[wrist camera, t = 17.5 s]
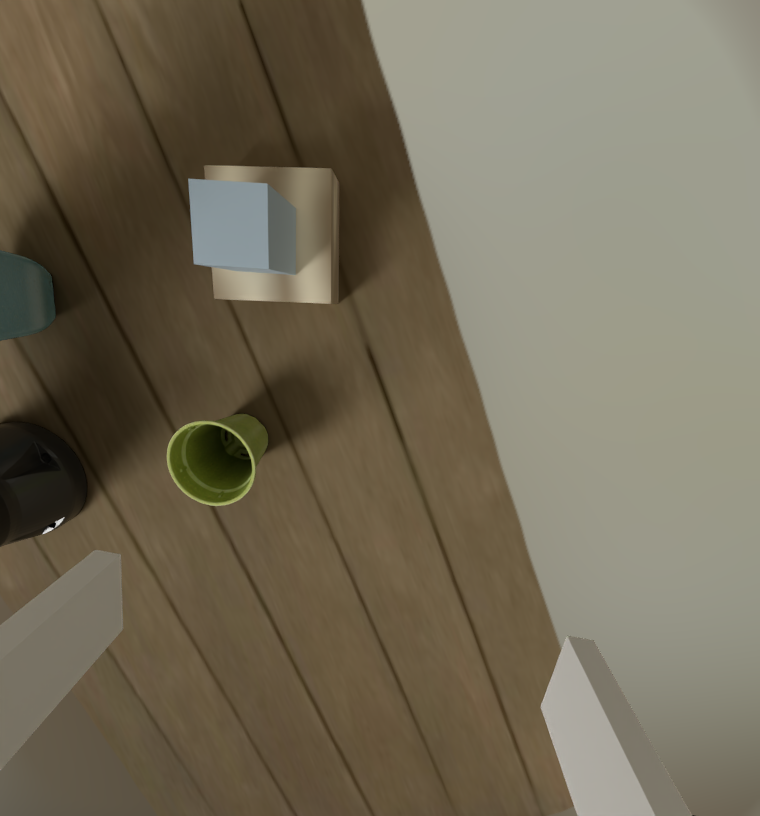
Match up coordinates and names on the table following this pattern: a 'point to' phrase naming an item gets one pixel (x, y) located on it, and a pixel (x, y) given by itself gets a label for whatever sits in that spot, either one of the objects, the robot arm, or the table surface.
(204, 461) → the plant pot
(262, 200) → the slate blue block
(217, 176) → the birch block
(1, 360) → the table surface
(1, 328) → the flower pot
